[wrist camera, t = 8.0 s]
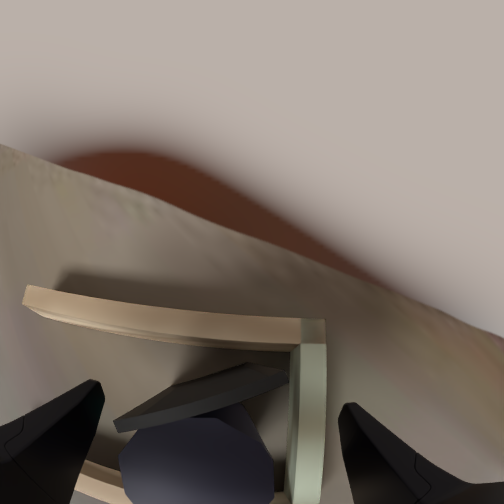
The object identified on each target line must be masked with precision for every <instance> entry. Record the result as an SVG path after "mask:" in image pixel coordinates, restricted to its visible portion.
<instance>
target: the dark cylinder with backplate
mask: <svg viewBox="0 0 504 504" xmlns="http://www.w3.org/2000/svg"><path fill="white" fill-rule="evenodd" d="M287 383H289V380H288V378H287V375H286V373H285V370H281V369H276V368H271V367H267V366H262V365H258V364H253V363H249V362H246V363H243V364H240V365H238V366H235V367H232V368H229V369H226V370H223V371H220V372H217V373H214V374H211V375H208V376H204V377H201V378H198V379H195V380H191V381H188V382H185V383H181V384H178V385H174V386H170V387H169V388H167V389H165V390H164V391H162V392H161V393H159V394H157V395H156V396H154V397H153V398H151V399H149V400H148V401H146V402H144V403H143V404H141V405H139V406H138V407H136V408H134V409H133V410H131V411H129V412H127V413H126V414H124V415H122V416H121V417H119V418H117V419H115V420H113V422H114V425H115V427H116V429H117V432H118V433H121V432H127V431H132V430H137V432H136V433H135V434H134V436H133V437H132V438H131V440H130V441H129V442H128V443H127V445H126V446H125V447H124V449H123V450H122V451H121V453H120V454H119V455H118V460H119V466H120V472H121V477H122V482H123V487H124V492H125V495H126V496H127V497H128V498H129V500H130V501H131V502H132V503H133V504H269V503H270V502H271V501H272V500H273V499H274V466H273V459H272V457H271V456H270V454H269V452H268V450H267V448H266V446H265V445H264V443H263V441H262V439H261V437H260V435H259V433H258V431H257V429H256V427H255V426H254V424H253V422H252V420H251V418H250V416H249V414H248V413H247V411H246V409H245V408H244V406H243V405H242V404H241V403H239V402H241V401H243V400H246V399H249V398H252V397H254V396H257V395H260V394H262V393H265V392H268V391H270V390H273V389H275V388H278V387H280V386H282V385H285V384H287Z"/></svg>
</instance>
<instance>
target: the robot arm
mask: <svg viewBox="0 0 504 504" xmlns="http://www.w3.org/2000/svg"><path fill="white" fill-rule="evenodd" d="M104 402H105V395H104V392H103V389H102V386H101V383H100V382H99V381H96V380H92V379H89V380H87V381H85V382H84V383H82V384H80V385H78V386H76V387H75V388H73V389H71V390H69V391H68V392H66V393H64V394H62V395H60V396H59V397H57V398H55V399H53V400H51V401H49V402H48V403H46V404H44V405H42V406H40V407H38V408H37V409H35V410H33V411H31V412H29V413H27V414H25V416H21V417H20V418H18V419H16V420H14V421H12V422H10V423H7V424H5V425H3V426H0V504H69V503H70V500H71V497H72V494H73V491H74V488H75V486H76V483H77V480H78V477H79V474H80V472H81V469H82V466H83V464H84V461H85V458H86V456H87V453H88V451H89V448H90V446H91V443H92V441H93V438H94V436H95V433H96V430H97V427H98V423H99V419H100V416H101V412H102V409H103V406H104ZM338 426H339V433H340V441H341V449H342V455H343V460H344V464H345V468H346V472H347V476H348V480H349V484H350V488H351V492H352V496H353V500H354V504H504V482H495V483H482V484H472V483H468V482H465V481H462V480H460V479H459V478H457V477H455V476H453V475H451V474H449V473H448V472H446V471H444V470H442V469H441V468H439V467H437V466H436V465H434V464H433V463H431V462H430V461H428V460H427V459H426V458H424V457H423V456H421V455H420V454H419V453H416V451H415V450H414V449H412V448H411V447H410V446H408V445H407V444H406V443H405V442H403V441H402V440H401V439H400V438H398V437H397V436H396V435H395V434H393V433H392V432H391V431H390V430H388V429H387V428H386V427H385V426H384V425H382V424H381V423H380V422H379V421H377V420H376V419H375V418H374V417H373V416H371V415H370V414H369V413H368V412H367V411H365V410H364V409H363V408H362V407H361V406H359V405H358V404H357V403H355V402H351V403H345V404H344V406H343V408H342V410H341V412H340V415H339V417H338Z"/></svg>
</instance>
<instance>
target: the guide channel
mask: <svg viewBox="0 0 504 504" xmlns="http://www.w3.org/2000/svg"><path fill="white" fill-rule="evenodd" d="M22 304H23V305H25V306H27V307H28V308H30V309H31V310H33V311H35V312H36V313H38V314H40V315H41V316H43V317H46V318H50V319H53V320H57V321H61V322H65V323H69V324H73V325H77V326H82V327H86V328H90V329H95V330H100V331H105V332H110V333H115V334H120V335H125V336H131V337H137V338H143V339H149V340H156V341H163V342H170V343H177V344H185V345H194V346H203V347H214V348H225V349H238V350H254V351H276V352H290V383H289V411H288V433H287V450H286V466H285V480H284V492H274V499H273V500H272V501H271V502H270V503H269V504H319V502H320V493H321V483H322V472H323V459H324V444H325V423H326V375H327V369H326V319H310V318H284V317H265V316H249V315H235V314H222V313H210V312H200V311H190V310H180V309H172V308H163V307H155V306H147V305H140V304H132V303H125V302H119V301H112V300H106V299H100V298H94V297H88V296H82V295H77V294H71V293H66V292H61V291H56V290H51V289H46V288H41V287H36V286H32V285H27V288H26V291H25V295H24V298H23V302H22ZM74 489H75V490H77V491H79V492H82V493H84V494H86V495H89V496H91V497H94V498H97V499H99V500H102V501H105V502H107V503H110V504H133V503H132V502H131V501H130V500H129V498H128V497H127V496H126V495H125V492H124V487H123V482H122V477H121V472H120V471H117V470H114V469H111V468H107V467H104V466H102V465H99V464H96V463H93V462H90V461H88V460H85V461H84V464H83V466H82V469H81V472H80V474H79V477H78V480H77V483H76V486H75V488H74Z"/></svg>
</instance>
